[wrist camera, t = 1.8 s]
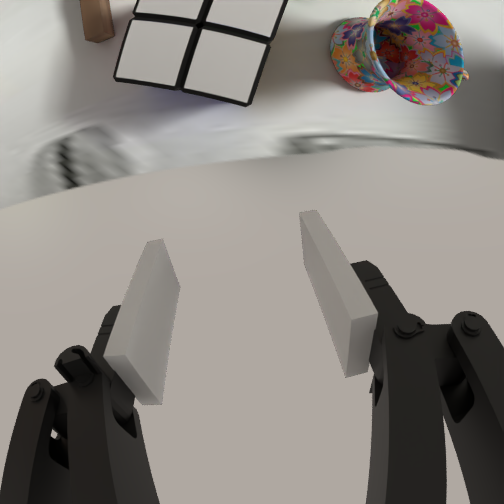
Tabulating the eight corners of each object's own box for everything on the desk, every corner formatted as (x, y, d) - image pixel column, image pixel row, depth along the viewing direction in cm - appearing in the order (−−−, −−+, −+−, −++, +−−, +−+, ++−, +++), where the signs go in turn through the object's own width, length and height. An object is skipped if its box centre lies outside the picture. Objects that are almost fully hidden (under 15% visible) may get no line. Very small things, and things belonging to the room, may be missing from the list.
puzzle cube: (146, 81, 25) (110, 81, 16) (175, -6, 20) (152, -42, 11) (243, 102, 27) (250, 108, 18) (273, 14, 22) (294, -16, 14)
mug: (319, 85, 26) (362, 87, 17) (327, 6, 21) (371, -23, 12) (415, 109, 27) (477, 127, 18) (423, 38, 23) (486, 35, 14)
